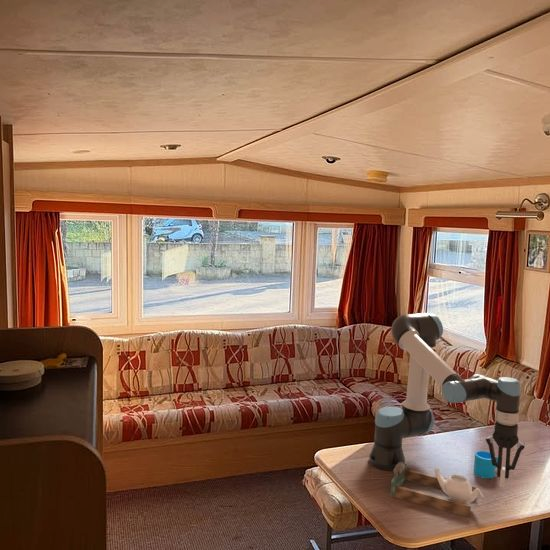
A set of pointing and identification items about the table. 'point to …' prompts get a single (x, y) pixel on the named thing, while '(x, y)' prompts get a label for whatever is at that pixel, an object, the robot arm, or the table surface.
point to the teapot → (458, 488)
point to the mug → (484, 465)
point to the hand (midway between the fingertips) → (502, 485)
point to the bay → (422, 497)
